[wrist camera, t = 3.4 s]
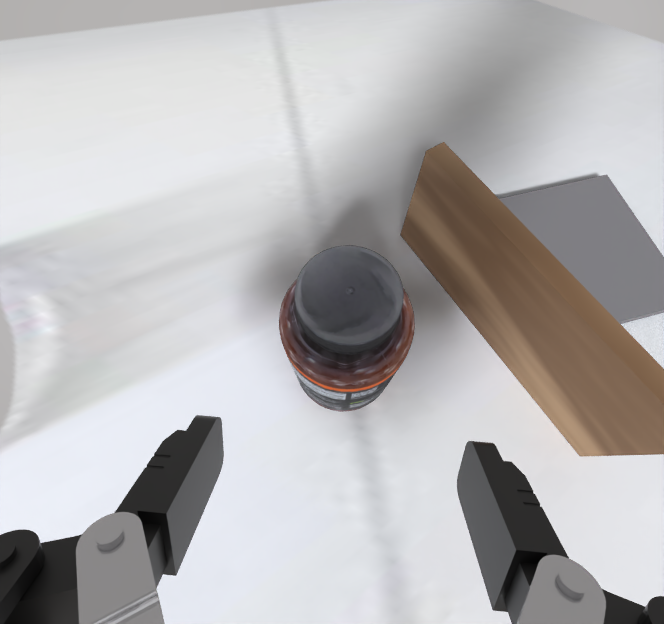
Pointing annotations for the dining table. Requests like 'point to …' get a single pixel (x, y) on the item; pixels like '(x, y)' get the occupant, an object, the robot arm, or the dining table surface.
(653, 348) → the dining table surface
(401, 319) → the supplement bottle
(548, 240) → the charcoal pad
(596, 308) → the walnut screen
